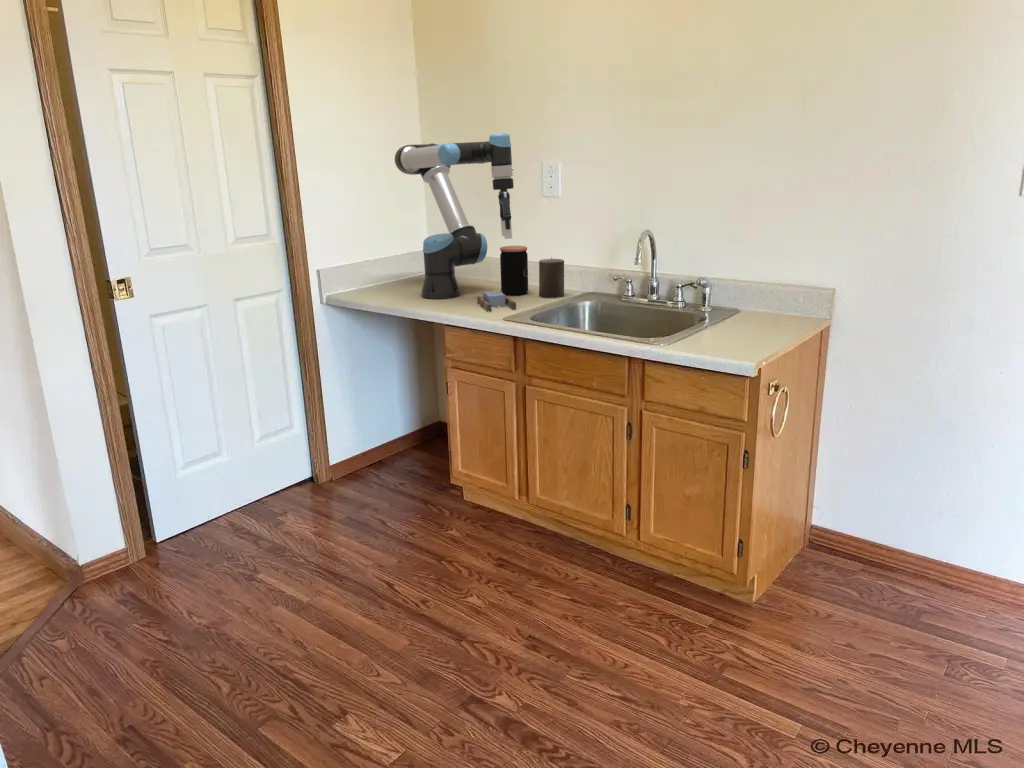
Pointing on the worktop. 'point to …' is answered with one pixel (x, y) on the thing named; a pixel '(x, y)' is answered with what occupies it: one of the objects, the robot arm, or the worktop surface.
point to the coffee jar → (514, 270)
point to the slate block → (494, 298)
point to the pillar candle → (551, 278)
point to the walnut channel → (488, 306)
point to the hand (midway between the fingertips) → (506, 237)
